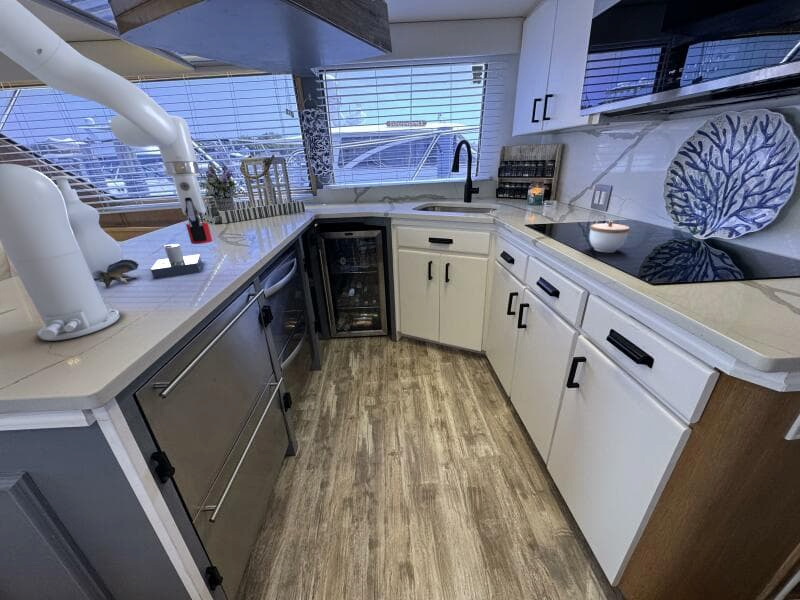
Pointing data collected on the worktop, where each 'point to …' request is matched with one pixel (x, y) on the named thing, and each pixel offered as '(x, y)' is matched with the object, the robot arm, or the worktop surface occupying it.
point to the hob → (176, 267)
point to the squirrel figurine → (116, 272)
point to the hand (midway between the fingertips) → (200, 238)
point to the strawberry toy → (207, 232)
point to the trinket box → (608, 236)
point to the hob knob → (174, 253)
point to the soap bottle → (88, 230)
